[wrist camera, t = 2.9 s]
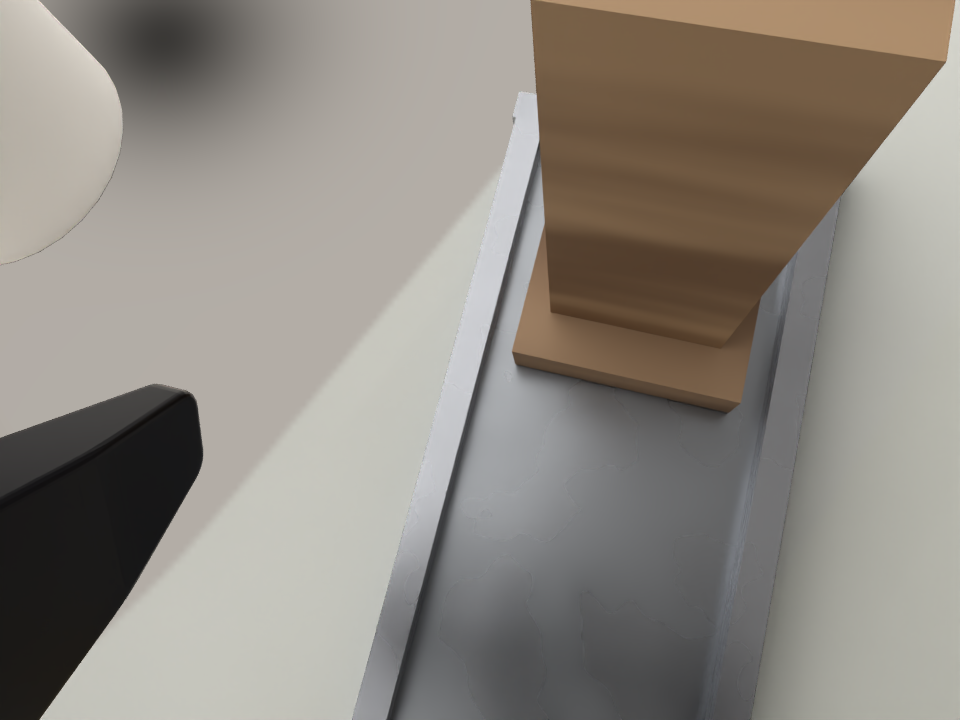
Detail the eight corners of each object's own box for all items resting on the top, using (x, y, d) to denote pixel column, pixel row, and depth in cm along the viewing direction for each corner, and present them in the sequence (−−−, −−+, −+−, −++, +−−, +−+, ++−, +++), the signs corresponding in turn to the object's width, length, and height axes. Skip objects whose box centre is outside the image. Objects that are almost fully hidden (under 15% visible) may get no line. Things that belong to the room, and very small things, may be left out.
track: (689, 1018, 17) (708, 1092, 15) (312, 885, 19) (276, 934, 16) (837, 169, 21) (870, 123, 19) (521, 114, 23) (516, 65, 20)
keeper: (728, 413, 20) (1009, 184, 7) (515, 364, 20) (439, 87, 8) (770, 199, 21) (1071, -311, 8) (566, 162, 22) (568, -348, 9)
